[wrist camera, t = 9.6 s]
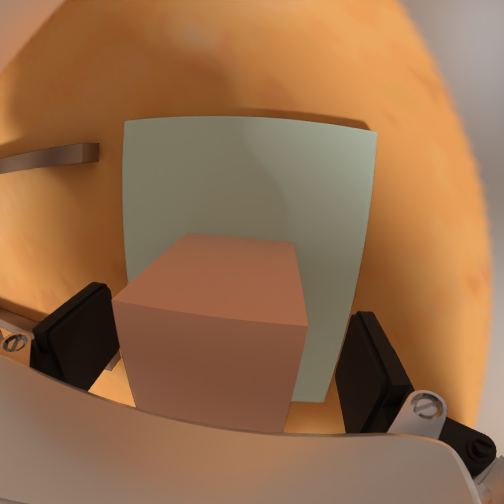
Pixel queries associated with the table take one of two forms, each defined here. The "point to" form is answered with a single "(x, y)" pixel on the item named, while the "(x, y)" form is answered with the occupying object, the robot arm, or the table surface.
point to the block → (215, 331)
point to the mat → (258, 206)
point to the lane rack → (36, 160)
